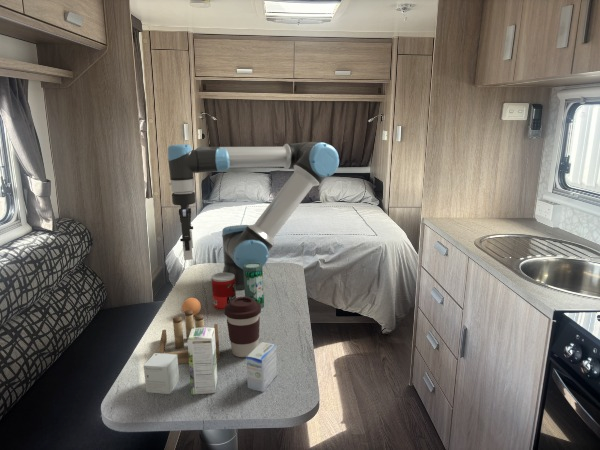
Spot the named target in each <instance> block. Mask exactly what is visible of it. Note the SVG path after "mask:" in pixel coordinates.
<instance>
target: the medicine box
mask: <svg viewBox="0 0 600 450" xmlns="http://www.w3.org/2000/svg"><path fill="white" fill-rule="evenodd" d="M245 358H246V359H245V360H246V361H245V362H246V377H247V378H246V379H247V380H246V381H247V388H248V389H250V390H253V391H258V392H260V393H262V392H265V391H266V389H267V388H268V387H269V386H270V384H271V383H272V382H273V380H275V378H276V377H277V376H278V346H277V344H273V343H270V342H263V341H260V343H258V346H257V347H256V348H255V349H254V350H253V351H252V352H251V353H250V354H249V355H248V356H247V357H245Z"/></svg>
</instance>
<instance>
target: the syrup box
mask: <svg viewBox="0 0 600 450" xmlns="http://www.w3.org/2000/svg"><path fill="white" fill-rule="evenodd" d="M187 350H188V356H189V362H188V367H189V368H188V369H189V370H188V371H189V380H190V394H191V395H193V396H194V395H204V394H205V395H206V394H207V395H208V394H215V393H216V389H217V384H218V365H217V364H218V362H217V359H216V344H215V328H214V327H204V328H196V327H194V329H191V332H190V335H189V338H188V341H187Z"/></svg>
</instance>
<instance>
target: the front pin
mask: <svg viewBox="0 0 600 450" xmlns="http://www.w3.org/2000/svg"><path fill="white" fill-rule="evenodd" d="M183 314H184V323H185V324H184V325H185V334H186V335H185V336H186V341H187V342H188V338H189V335H190V332H191V329H194V328H195V319H194V316H193V311H192V310H186V311H185V312H183Z"/></svg>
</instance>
